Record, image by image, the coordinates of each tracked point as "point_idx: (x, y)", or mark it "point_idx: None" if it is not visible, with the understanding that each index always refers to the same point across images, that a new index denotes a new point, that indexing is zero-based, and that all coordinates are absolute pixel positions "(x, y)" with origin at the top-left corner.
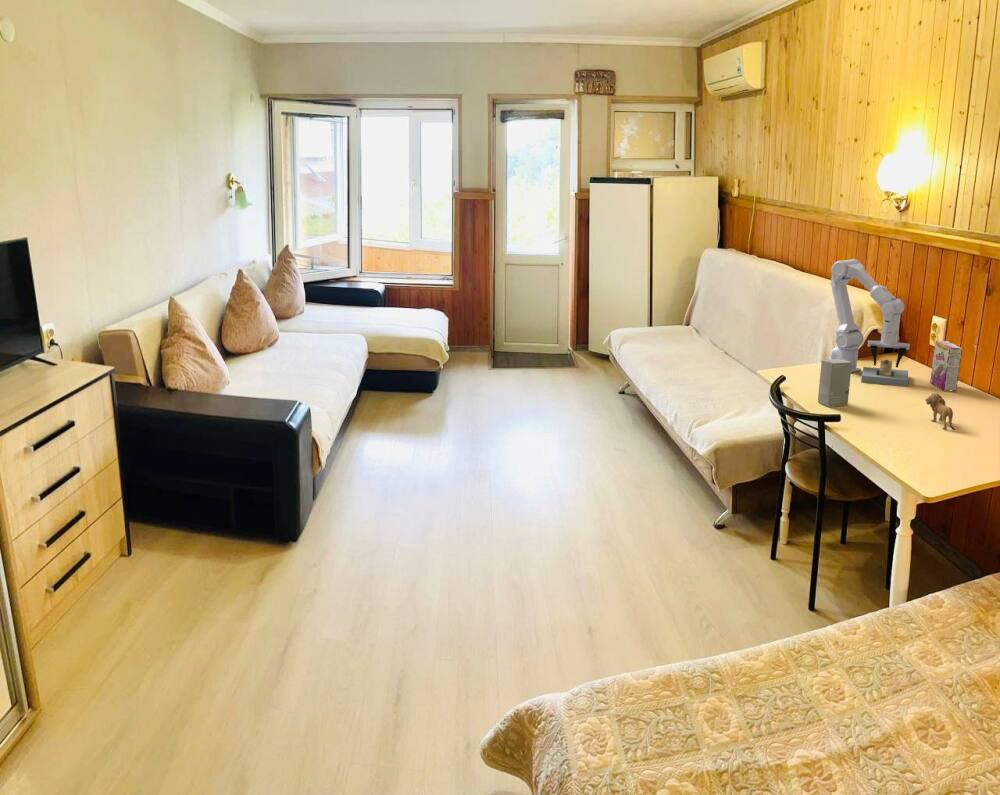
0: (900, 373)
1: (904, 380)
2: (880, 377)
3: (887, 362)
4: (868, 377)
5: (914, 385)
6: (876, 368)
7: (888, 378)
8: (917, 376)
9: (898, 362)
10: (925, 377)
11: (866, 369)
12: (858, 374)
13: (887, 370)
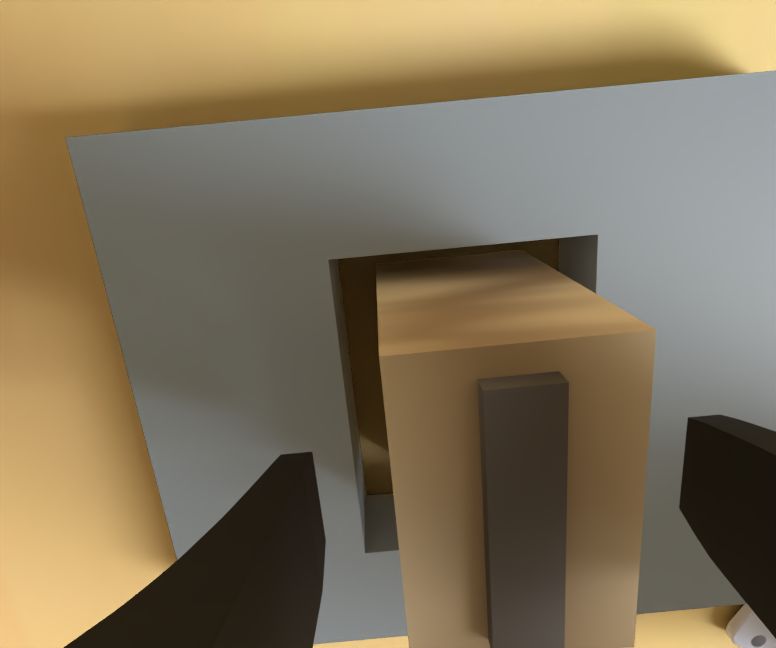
0: None
1: (130, 135)
2: (526, 95)
3: (500, 433)
4: (715, 78)
5: (51, 242)
6: None
7: (391, 109)
8: None
9: (243, 507)
10: (50, 639)
11: None
12: None
13: (446, 305)
